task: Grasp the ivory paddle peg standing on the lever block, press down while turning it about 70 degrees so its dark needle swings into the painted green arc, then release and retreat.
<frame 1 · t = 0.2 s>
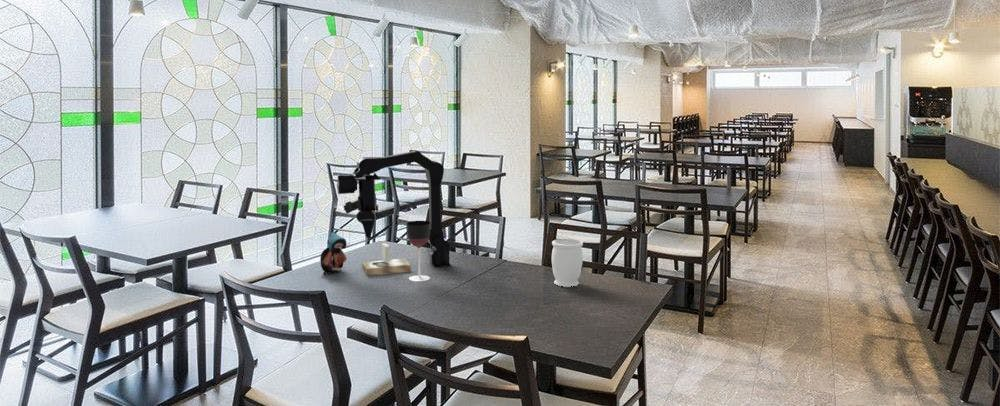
hand: (368, 234, 235), 14 cm above the table, fingers open, 9 cm apart
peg: (380, 254, 237), point 6 cm above the table, hinge at 0.0°
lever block: (386, 270, 238), on the table
figurine: (335, 272, 235), on the table
wineglass: (419, 278, 228), on the table
jar: (566, 284, 222), on the table
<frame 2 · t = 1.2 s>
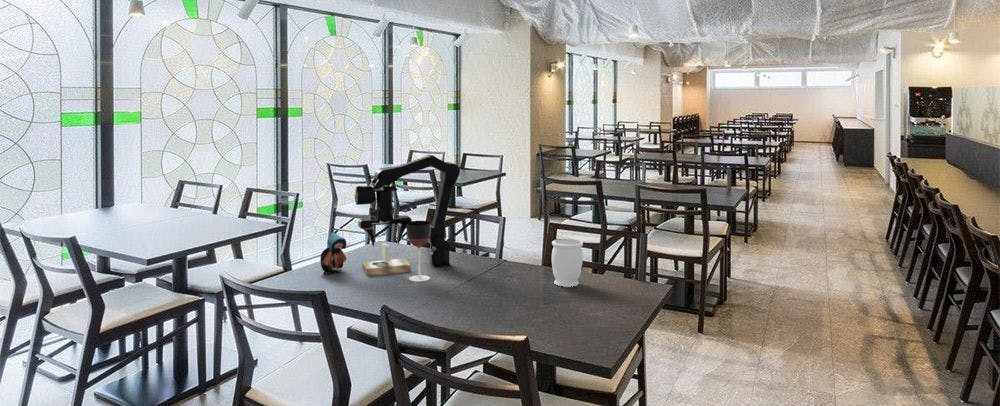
hand: (385, 244, 237), 10 cm above the table, fingers open, 9 cm apart
nothing on the table moved.
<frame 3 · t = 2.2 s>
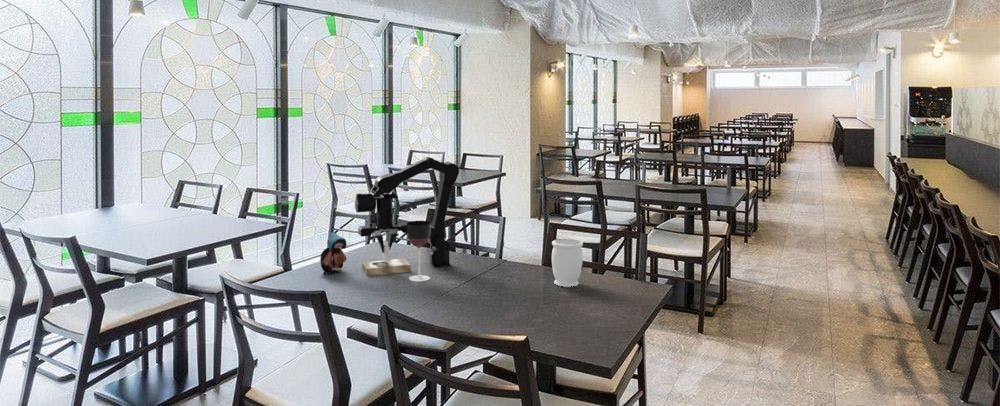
hand: (385, 252, 237), 7 cm above the table, fingers closed on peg, 2 cm apart
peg: (380, 254, 237), point 6 cm above the table, hinge at 0.0°, touching gripper
everything else where it was.
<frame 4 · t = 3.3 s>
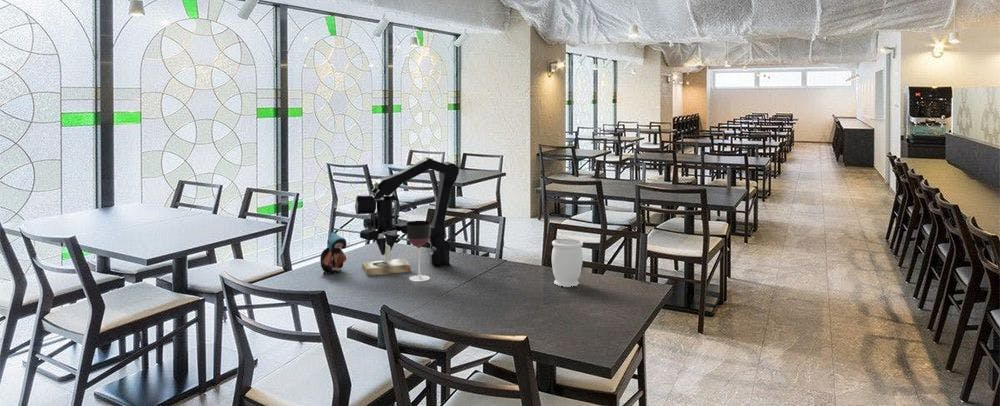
hand: (385, 254, 237), 6 cm above the table, fingers closed on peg, 2 cm apart
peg: (380, 254, 236), point 6 cm above the table, hinge at 7.3°, touching gripper
everything else where it was.
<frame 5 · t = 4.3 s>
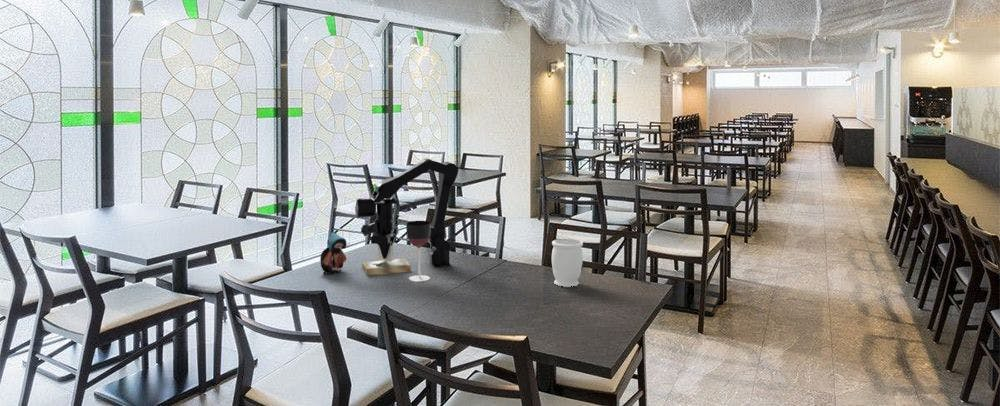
hand: (385, 257, 238), 5 cm above the table, fingers closed on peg, 3 cm apart
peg: (381, 255, 236), point 6 cm above the table, hinge at 37.3°, touching gripper
everything else where it was.
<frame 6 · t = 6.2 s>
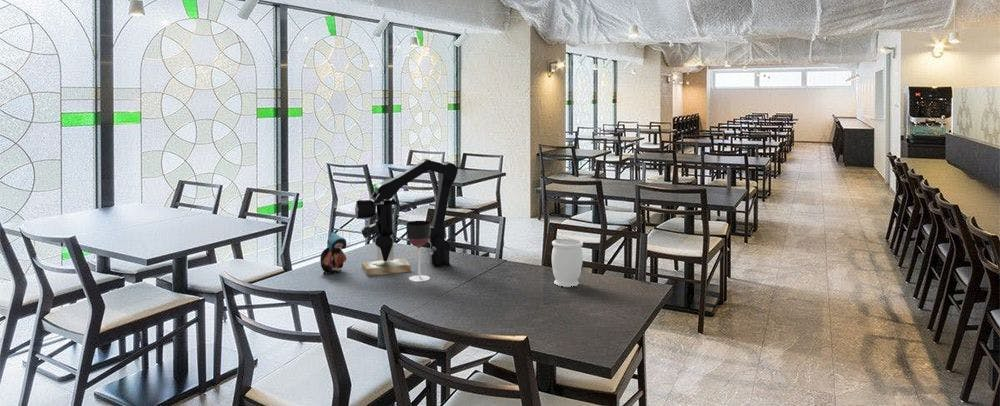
hand: (385, 258, 238), 4 cm above the table, fingers open, 7 cm apart
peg: (384, 255, 235), point 6 cm above the table, hinge at 61.8°
everything else where it was.
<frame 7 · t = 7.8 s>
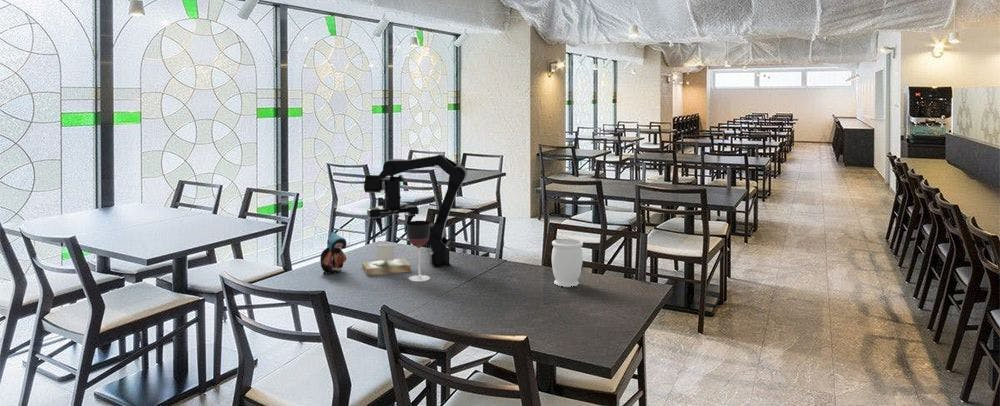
hand: (393, 233, 245), 12 cm above the table, fingers open, 9 cm apart
nothing on the table moved.
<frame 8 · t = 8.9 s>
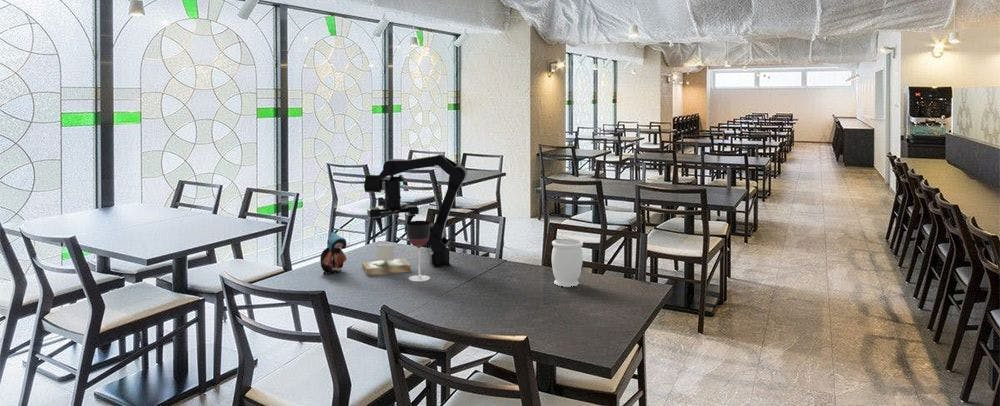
hand: (393, 233, 246), 12 cm above the table, fingers open, 9 cm apart
nothing on the table moved.
at the end: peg at +62° (first picture: +0°); the gripper is holding nothing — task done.
